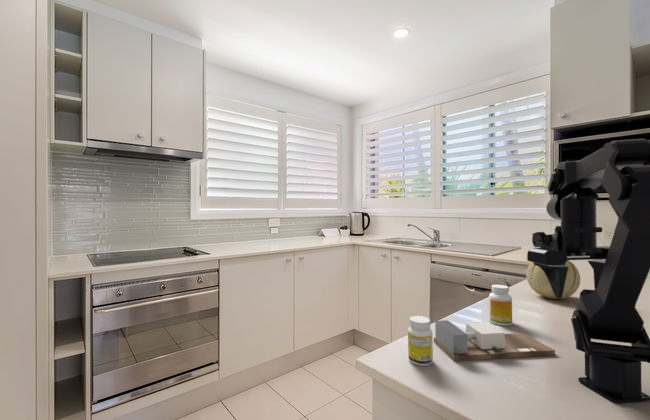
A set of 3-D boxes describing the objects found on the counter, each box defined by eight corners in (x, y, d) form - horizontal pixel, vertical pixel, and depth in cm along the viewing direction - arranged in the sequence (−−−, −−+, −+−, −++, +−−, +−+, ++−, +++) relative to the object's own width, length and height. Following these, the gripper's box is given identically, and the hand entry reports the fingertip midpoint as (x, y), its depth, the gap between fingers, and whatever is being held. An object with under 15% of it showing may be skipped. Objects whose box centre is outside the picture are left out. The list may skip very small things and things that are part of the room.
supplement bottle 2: (515, 327, 79) (515, 289, 79) (492, 325, 80) (492, 288, 80) (507, 319, 84) (507, 284, 84) (486, 318, 85) (486, 283, 85)
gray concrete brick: (448, 337, 70) (447, 320, 70) (467, 354, 63) (467, 334, 63) (435, 338, 70) (435, 320, 70) (453, 354, 62) (453, 335, 62)
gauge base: (523, 337, 73) (523, 332, 73) (555, 355, 64) (555, 349, 64) (433, 341, 71) (433, 336, 71) (453, 361, 62) (453, 355, 62)
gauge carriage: (487, 336, 70) (486, 322, 70) (511, 352, 62) (511, 336, 62) (453, 338, 70) (453, 324, 70) (474, 354, 62) (473, 338, 62)
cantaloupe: (520, 297, 105) (520, 253, 105) (532, 289, 115) (532, 249, 115) (576, 307, 94) (575, 258, 94) (584, 298, 104) (583, 253, 104)
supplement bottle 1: (414, 353, 65) (413, 313, 65) (436, 359, 62) (436, 318, 62) (404, 361, 62) (403, 319, 62) (427, 369, 59) (427, 325, 59)
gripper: (583, 219, 73) (583, 286, 73) (508, 221, 71) (509, 288, 71) (634, 221, 62) (635, 299, 62) (548, 223, 60) (549, 303, 60)
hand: (578, 297), depth 64 cm, fingers open, 9 cm apart
